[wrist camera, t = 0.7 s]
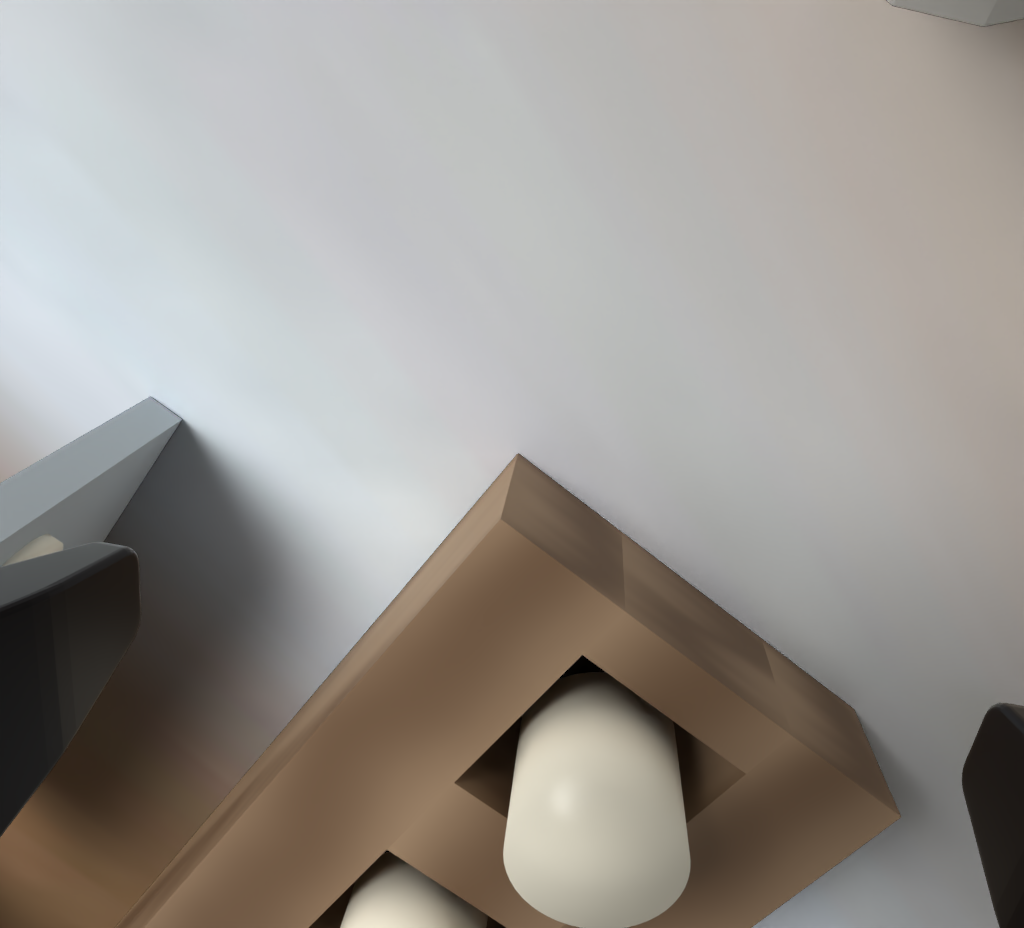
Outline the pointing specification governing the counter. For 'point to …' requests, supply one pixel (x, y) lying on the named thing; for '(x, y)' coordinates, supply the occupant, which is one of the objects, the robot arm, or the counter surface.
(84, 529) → the placard
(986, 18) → the french press
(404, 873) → the button middle
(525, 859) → the button
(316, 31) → the counter surface
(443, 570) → the board
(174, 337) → the counter surface
